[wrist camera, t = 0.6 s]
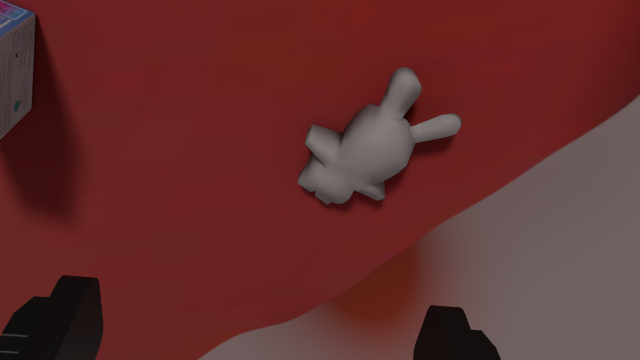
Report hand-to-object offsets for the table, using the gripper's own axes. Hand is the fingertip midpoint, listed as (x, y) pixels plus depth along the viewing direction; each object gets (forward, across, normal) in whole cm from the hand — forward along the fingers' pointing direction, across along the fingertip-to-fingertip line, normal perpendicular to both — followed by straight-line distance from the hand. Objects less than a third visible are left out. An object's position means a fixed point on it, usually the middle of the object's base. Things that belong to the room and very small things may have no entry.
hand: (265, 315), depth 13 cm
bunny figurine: (+34, -9, +11) cm, 37 cm away
